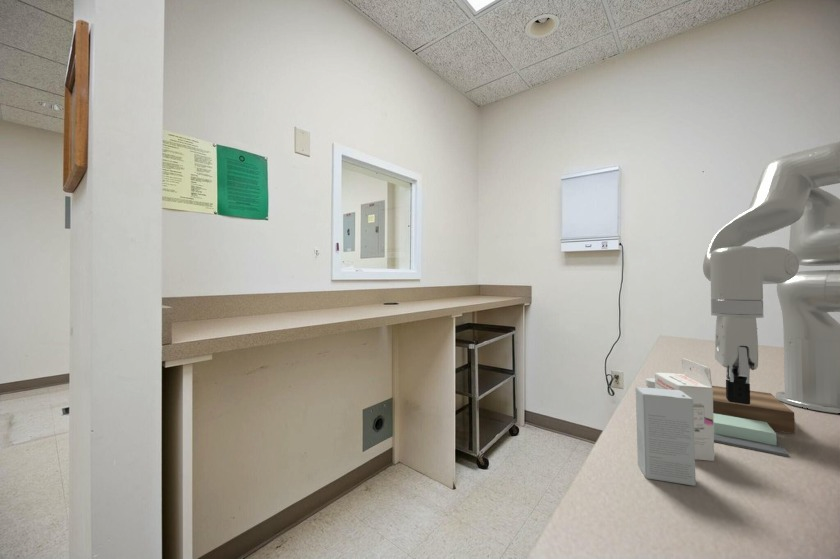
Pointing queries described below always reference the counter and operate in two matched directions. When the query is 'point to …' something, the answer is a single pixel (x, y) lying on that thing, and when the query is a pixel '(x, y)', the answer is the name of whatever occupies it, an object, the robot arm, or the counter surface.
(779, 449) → the mat
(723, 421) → the mint green block
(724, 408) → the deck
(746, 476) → the counter surface
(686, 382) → the ink cartridge box
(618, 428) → the counter surface
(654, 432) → the skincare box
